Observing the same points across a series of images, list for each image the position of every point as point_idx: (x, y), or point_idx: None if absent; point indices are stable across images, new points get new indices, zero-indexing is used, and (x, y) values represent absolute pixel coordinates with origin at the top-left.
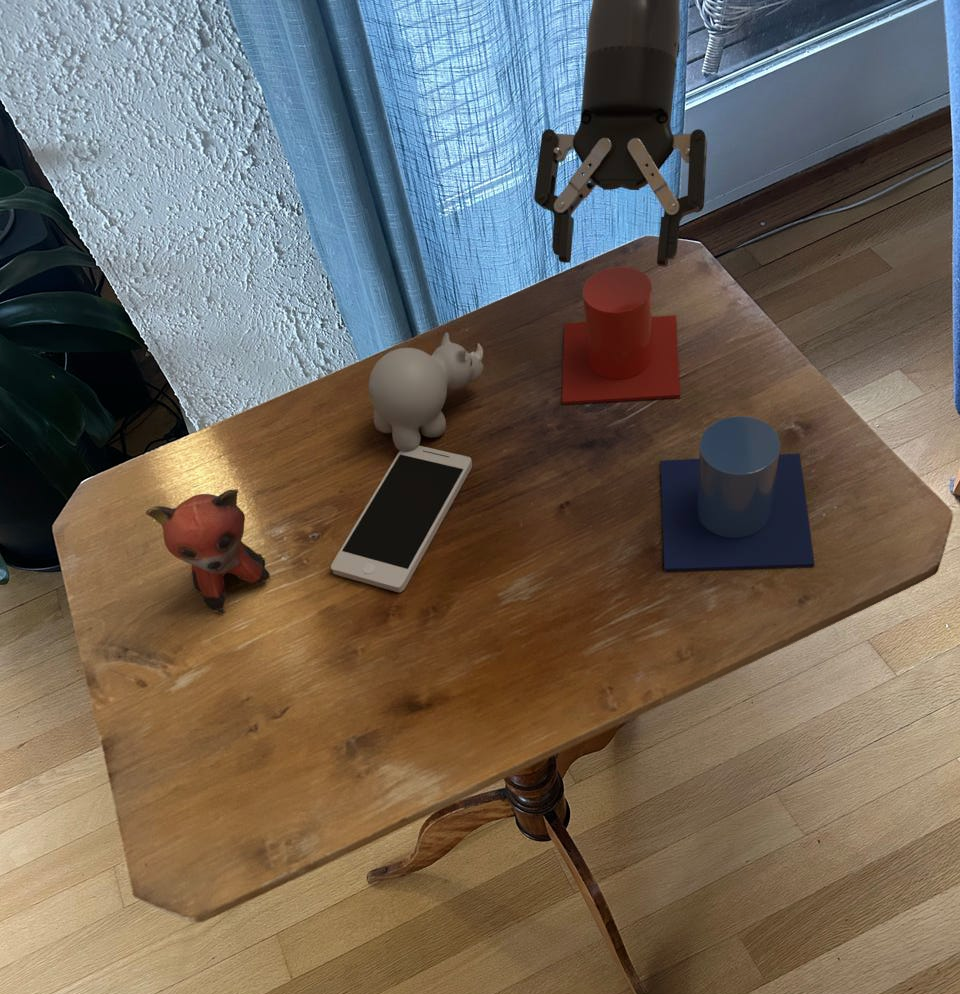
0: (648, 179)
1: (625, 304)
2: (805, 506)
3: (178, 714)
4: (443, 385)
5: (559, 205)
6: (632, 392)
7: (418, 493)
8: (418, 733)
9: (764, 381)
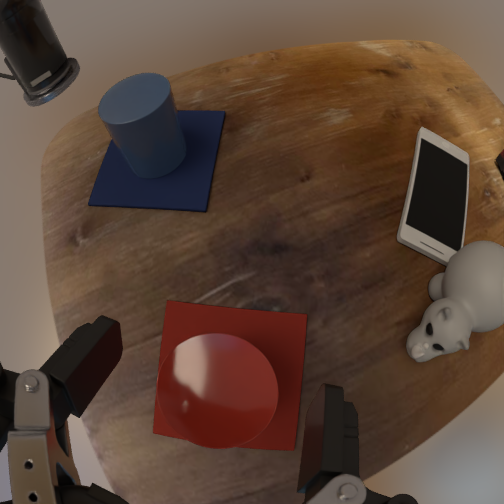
0: (43, 461)
1: (205, 350)
2: (106, 154)
3: (489, 106)
4: (454, 275)
5: (351, 489)
6: (220, 315)
7: (435, 203)
8: (378, 61)
9: (84, 305)
